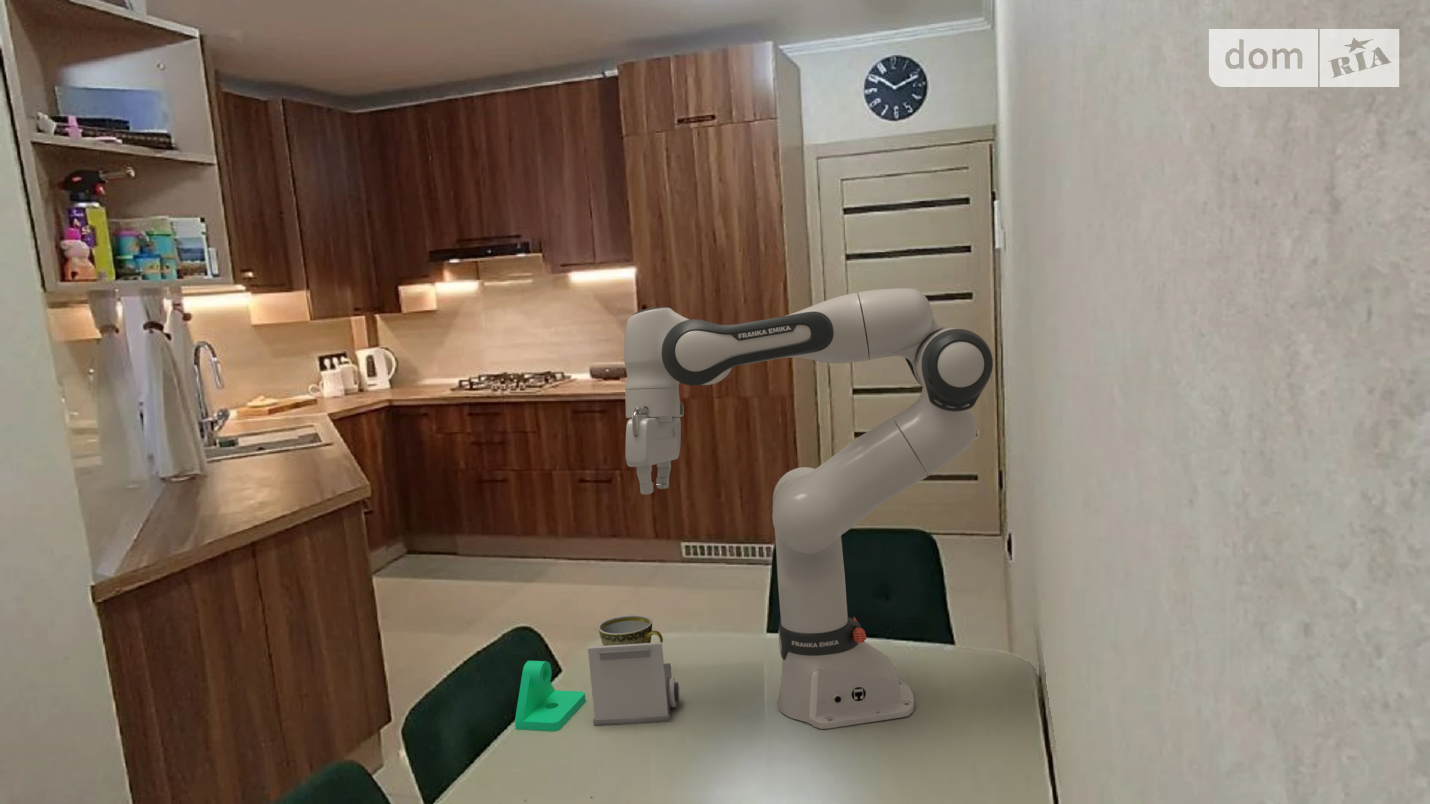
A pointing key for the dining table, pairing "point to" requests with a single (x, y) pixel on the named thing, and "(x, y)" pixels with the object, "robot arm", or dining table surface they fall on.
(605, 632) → the ceramic cup
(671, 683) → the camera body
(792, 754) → the dining table surface
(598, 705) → the side door
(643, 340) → the robot arm
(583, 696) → the camera mount
